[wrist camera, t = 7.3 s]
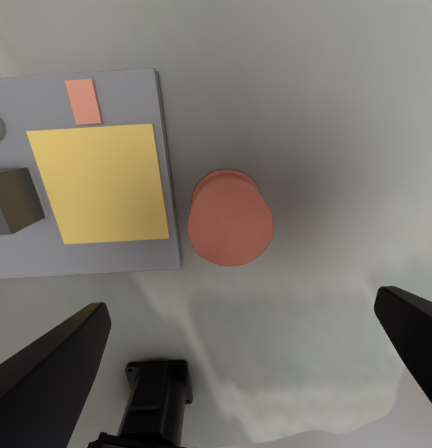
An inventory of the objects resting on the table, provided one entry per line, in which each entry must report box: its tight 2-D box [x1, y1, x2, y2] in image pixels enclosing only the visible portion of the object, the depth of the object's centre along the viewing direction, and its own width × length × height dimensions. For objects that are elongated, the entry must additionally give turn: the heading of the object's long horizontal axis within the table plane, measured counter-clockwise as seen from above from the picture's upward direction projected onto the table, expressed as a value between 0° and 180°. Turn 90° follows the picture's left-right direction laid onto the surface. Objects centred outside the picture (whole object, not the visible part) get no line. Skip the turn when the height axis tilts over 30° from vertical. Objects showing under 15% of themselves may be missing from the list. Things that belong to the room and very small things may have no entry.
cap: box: [188, 169, 274, 266], centre depth 16 cm, size 5×5×5 cm
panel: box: [0, 68, 182, 279], centre depth 16 cm, size 14×19×2 cm
